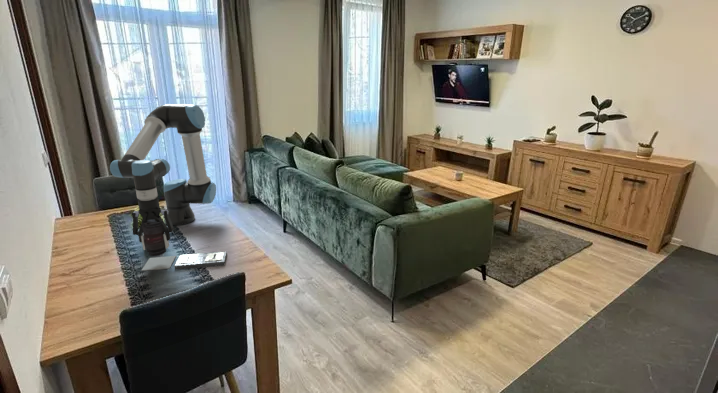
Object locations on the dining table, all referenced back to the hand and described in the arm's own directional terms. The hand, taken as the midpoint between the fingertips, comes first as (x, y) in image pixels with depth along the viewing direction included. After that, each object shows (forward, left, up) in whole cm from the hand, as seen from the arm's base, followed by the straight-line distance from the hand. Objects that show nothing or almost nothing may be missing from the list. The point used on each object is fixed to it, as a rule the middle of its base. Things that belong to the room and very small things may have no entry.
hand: (156, 247), depth 160 cm
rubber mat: (0, 0, -8) cm, 8 cm away
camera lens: (0, 0, -3) cm, 3 cm away
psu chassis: (+2, +18, -8) cm, 20 cm away
